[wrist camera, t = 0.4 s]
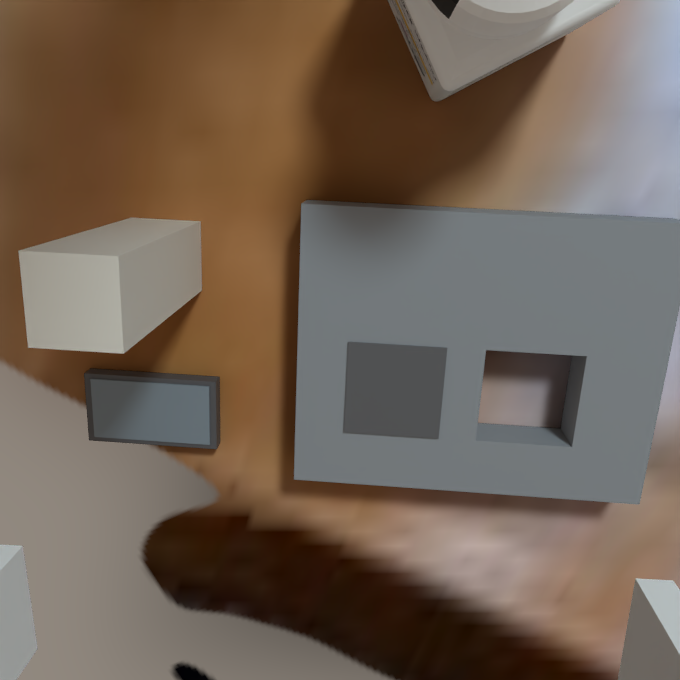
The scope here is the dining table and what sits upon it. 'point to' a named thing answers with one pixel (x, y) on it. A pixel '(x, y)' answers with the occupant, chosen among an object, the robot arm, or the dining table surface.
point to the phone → (153, 408)
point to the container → (483, 35)
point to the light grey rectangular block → (109, 283)
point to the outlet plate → (480, 345)
